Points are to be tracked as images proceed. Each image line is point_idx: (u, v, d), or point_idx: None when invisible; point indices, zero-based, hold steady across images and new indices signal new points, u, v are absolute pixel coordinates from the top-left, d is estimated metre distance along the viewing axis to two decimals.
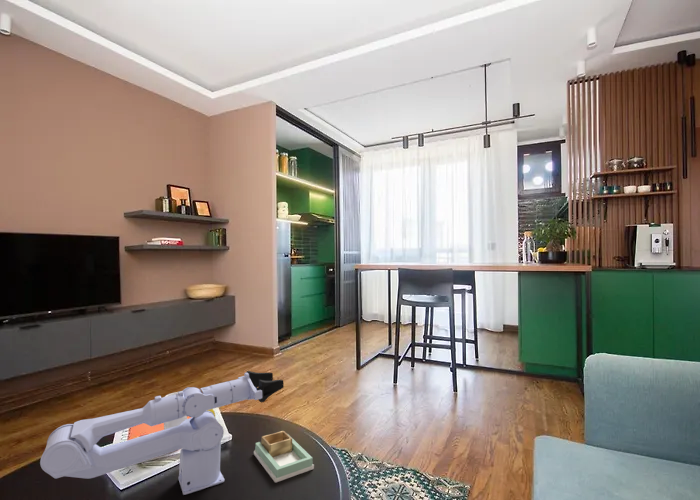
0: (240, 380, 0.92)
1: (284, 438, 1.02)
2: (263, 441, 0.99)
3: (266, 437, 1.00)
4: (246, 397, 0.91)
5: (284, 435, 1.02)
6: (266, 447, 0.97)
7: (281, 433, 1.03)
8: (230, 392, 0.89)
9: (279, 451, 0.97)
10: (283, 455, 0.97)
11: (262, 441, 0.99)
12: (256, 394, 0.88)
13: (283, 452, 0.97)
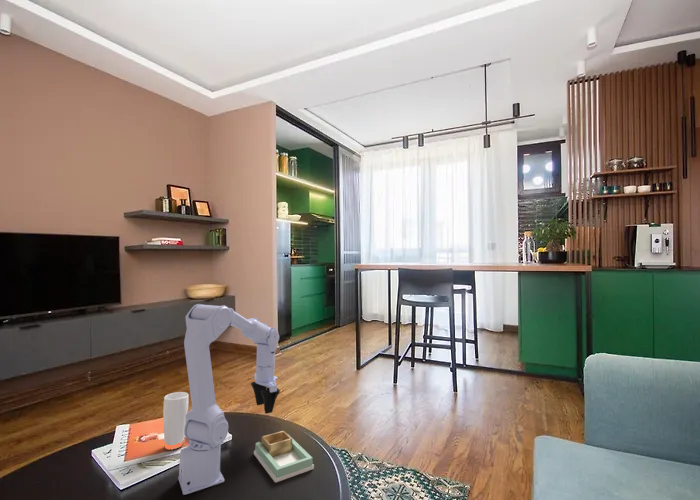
0: None
1: (284, 438, 1.02)
2: (263, 441, 0.99)
3: (266, 437, 1.00)
4: (262, 379, 1.06)
5: (284, 435, 1.02)
6: (266, 447, 0.97)
7: (281, 433, 1.03)
8: (274, 363, 1.09)
9: (279, 451, 0.97)
10: (283, 455, 0.97)
11: (262, 441, 0.99)
12: (275, 386, 1.03)
13: (283, 452, 0.97)
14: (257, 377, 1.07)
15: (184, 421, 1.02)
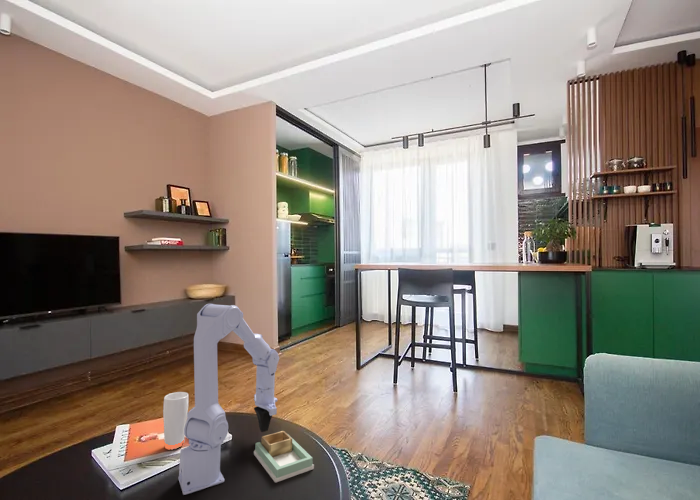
0: None
1: (284, 438, 1.02)
2: (263, 441, 0.99)
3: (266, 437, 1.00)
4: (262, 402, 1.06)
5: (284, 435, 1.02)
6: (266, 447, 0.97)
7: (281, 433, 1.03)
8: None
9: (279, 451, 0.97)
10: (283, 455, 0.97)
11: (262, 441, 0.99)
12: (274, 409, 1.03)
13: (283, 452, 0.97)
14: (257, 399, 1.06)
15: (184, 421, 1.02)
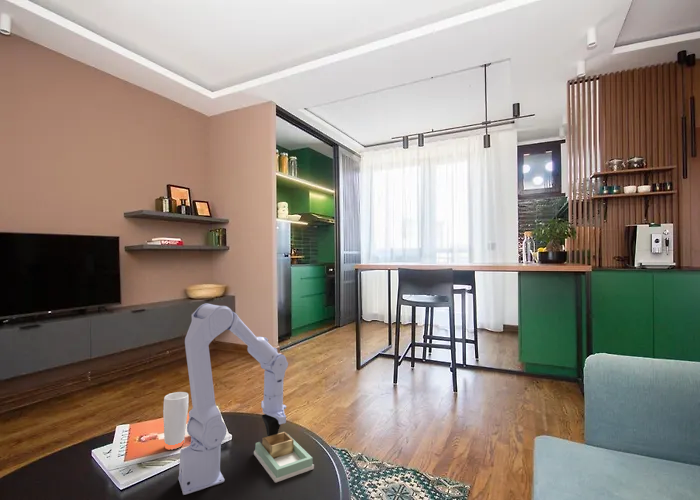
0: None
1: (285, 439, 1.02)
2: (264, 442, 0.98)
3: (267, 438, 1.00)
4: (270, 409, 1.00)
5: (285, 436, 1.02)
6: (267, 448, 0.96)
7: (282, 434, 1.02)
8: (281, 392, 1.02)
9: (280, 452, 0.96)
10: None
11: (263, 442, 0.99)
12: (284, 417, 0.97)
13: (284, 453, 0.97)
14: (265, 407, 1.01)
15: (184, 421, 1.02)
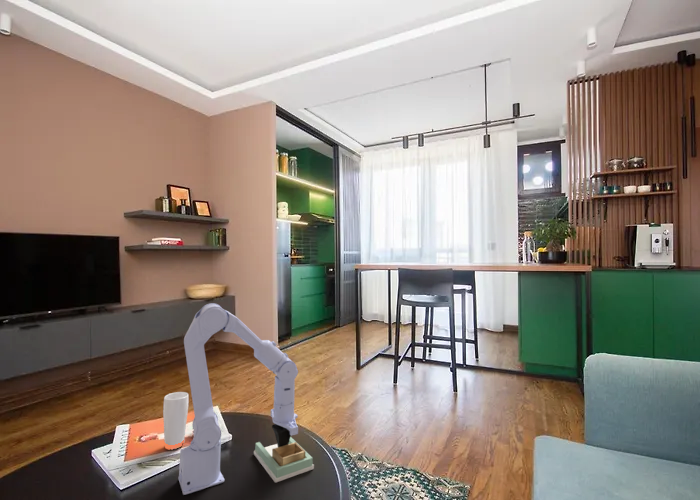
0: None
1: (296, 450, 0.95)
2: (274, 454, 0.92)
3: (277, 449, 0.94)
4: (281, 419, 0.94)
5: (296, 447, 0.95)
6: (278, 461, 0.90)
7: (293, 445, 0.96)
8: (290, 402, 0.95)
9: None
10: None
11: (273, 454, 0.93)
12: (296, 428, 0.91)
13: None
14: (275, 416, 0.94)
15: (184, 421, 1.02)
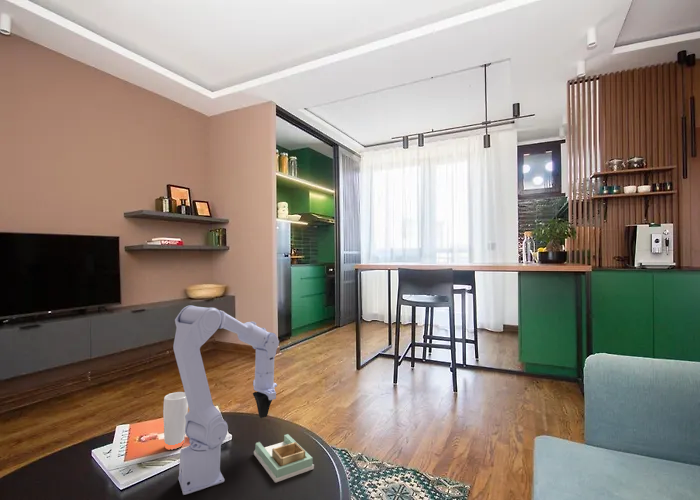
0: (273, 379, 1.06)
1: (296, 450, 0.95)
2: (274, 454, 0.92)
3: (277, 449, 0.94)
4: (261, 386, 1.02)
5: (296, 447, 0.96)
6: (277, 461, 0.90)
7: (293, 445, 0.96)
8: (273, 370, 1.05)
9: None
10: None
11: (273, 454, 0.93)
12: (274, 393, 0.99)
13: None
14: (256, 384, 1.03)
15: (184, 421, 1.02)
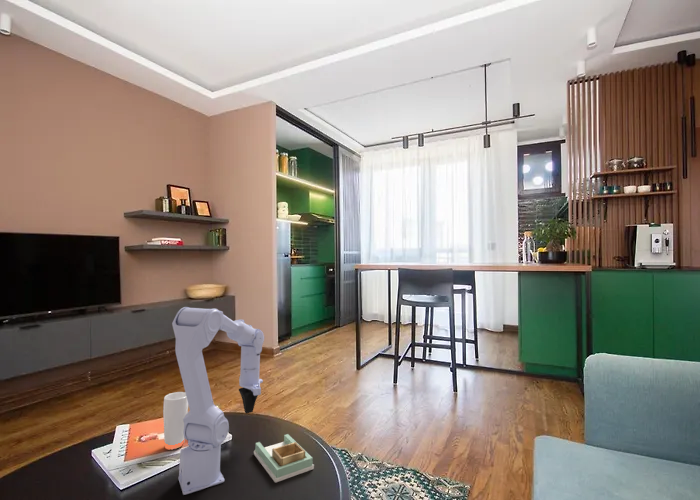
0: None
1: (296, 450, 0.95)
2: (274, 454, 0.92)
3: (277, 449, 0.94)
4: (246, 382, 1.03)
5: (296, 447, 0.96)
6: (277, 461, 0.90)
7: (293, 445, 0.96)
8: (259, 365, 1.07)
9: None
10: None
11: (273, 454, 0.93)
12: (259, 389, 1.00)
13: None
14: (241, 380, 1.04)
15: None
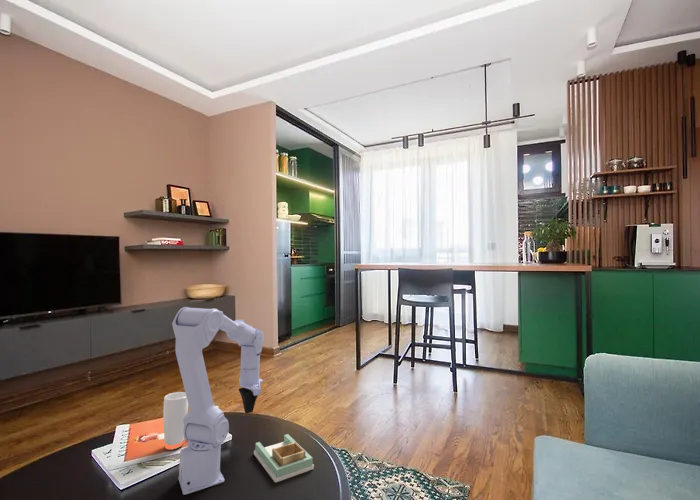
0: None
1: (296, 450, 0.95)
2: (274, 454, 0.92)
3: (277, 449, 0.94)
4: (246, 382, 1.03)
5: (296, 447, 0.96)
6: (277, 461, 0.90)
7: (293, 445, 0.96)
8: (259, 365, 1.07)
9: None
10: None
11: (273, 454, 0.93)
12: (259, 389, 1.00)
13: None
14: (241, 380, 1.04)
15: None
